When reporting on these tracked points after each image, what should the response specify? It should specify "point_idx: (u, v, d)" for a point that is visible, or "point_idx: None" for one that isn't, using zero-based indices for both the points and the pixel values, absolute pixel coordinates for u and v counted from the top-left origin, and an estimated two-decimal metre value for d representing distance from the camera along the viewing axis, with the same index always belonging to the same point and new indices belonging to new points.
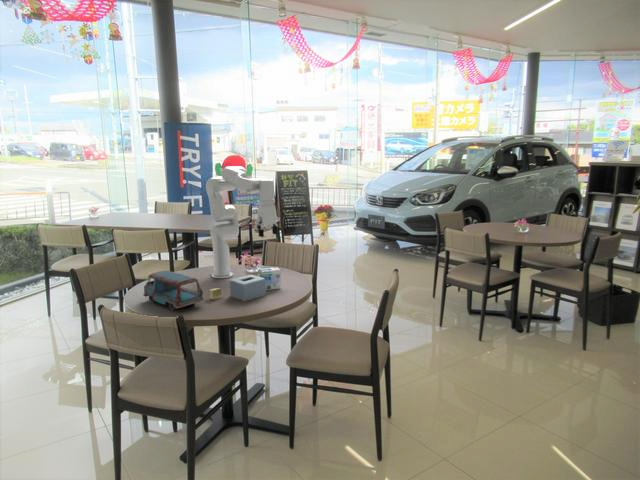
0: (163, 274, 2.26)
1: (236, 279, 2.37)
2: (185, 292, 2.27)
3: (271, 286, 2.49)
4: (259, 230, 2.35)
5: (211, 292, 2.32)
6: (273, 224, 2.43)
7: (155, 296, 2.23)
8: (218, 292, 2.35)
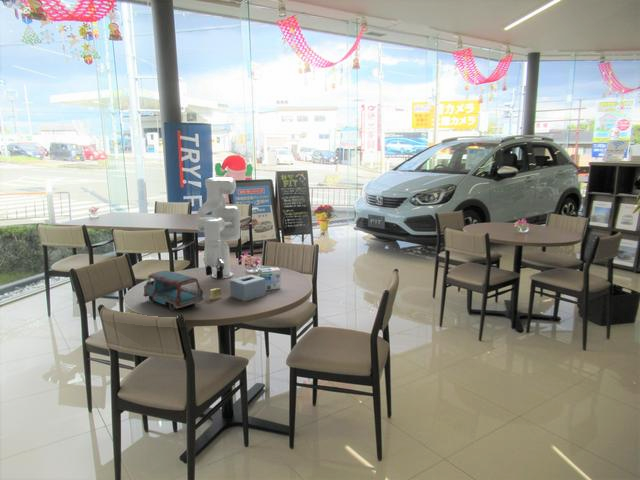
0: (163, 274, 2.26)
1: (236, 279, 2.37)
2: (185, 292, 2.27)
3: (271, 286, 2.49)
4: (220, 271, 2.28)
5: (211, 292, 2.32)
6: None
7: (155, 296, 2.23)
8: (218, 292, 2.35)
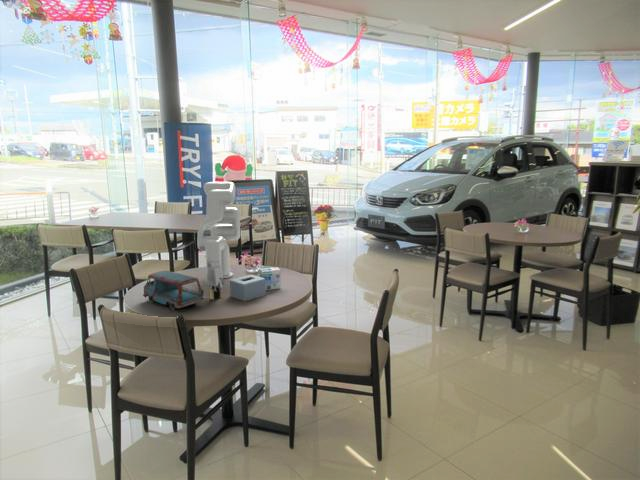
0: (163, 274, 2.26)
1: (236, 279, 2.37)
2: (185, 292, 2.27)
3: (271, 286, 2.49)
4: (217, 292, 2.33)
5: (211, 292, 2.32)
6: (211, 287, 2.35)
7: (155, 296, 2.23)
8: None
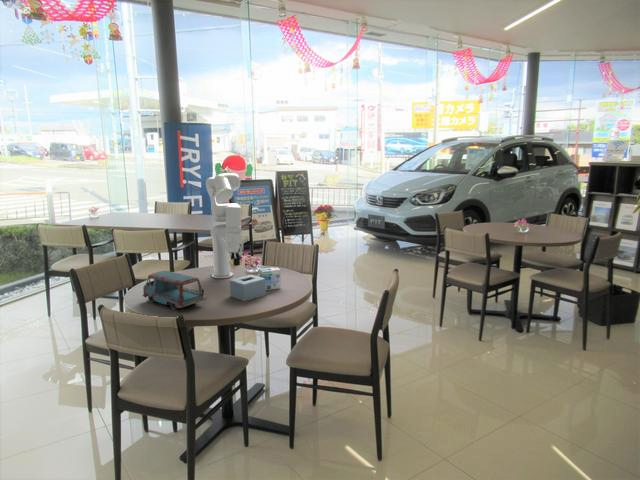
0: (163, 274, 2.25)
1: (236, 279, 2.37)
2: (186, 292, 2.27)
3: (271, 286, 2.49)
4: (237, 259, 2.32)
5: (231, 264, 2.32)
6: (231, 254, 2.34)
7: (155, 296, 2.23)
8: None
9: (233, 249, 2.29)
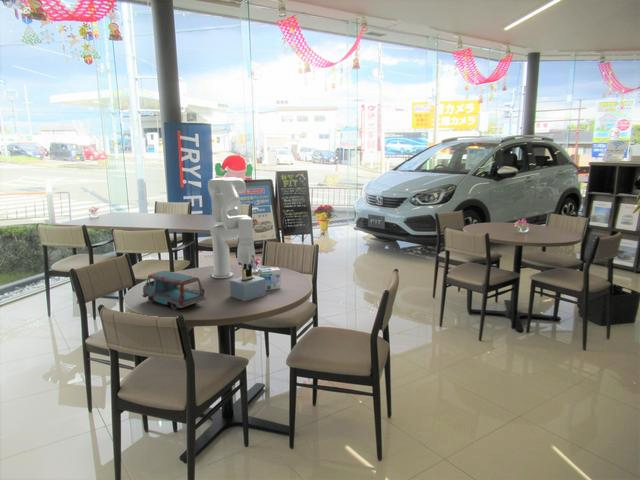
0: (163, 274, 2.25)
1: (236, 279, 2.37)
2: (186, 292, 2.28)
3: (271, 286, 2.49)
4: (249, 270, 2.35)
5: (243, 272, 2.34)
6: (243, 265, 2.36)
7: (156, 296, 2.23)
8: None
9: (246, 260, 2.31)
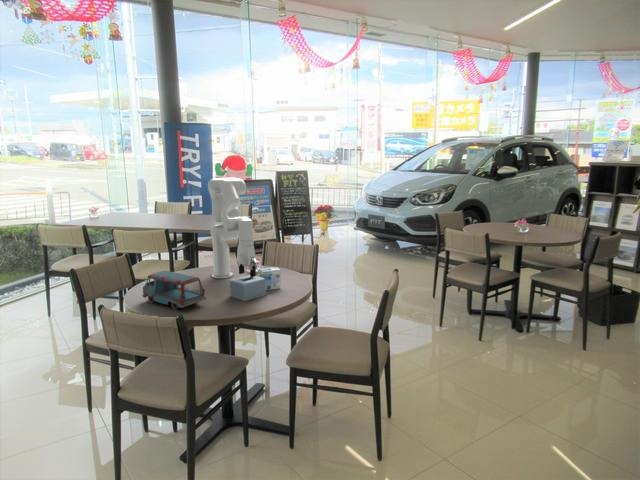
0: (163, 274, 2.25)
1: (236, 279, 2.37)
2: (186, 292, 2.28)
3: (271, 286, 2.49)
4: (253, 270, 2.32)
5: None
6: (240, 264, 2.38)
7: (156, 296, 2.23)
8: None
9: (246, 262, 2.31)
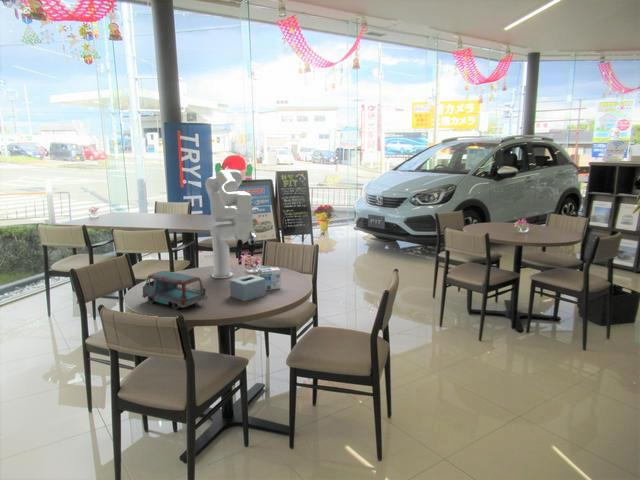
0: (163, 274, 2.25)
1: (236, 279, 2.37)
2: (186, 291, 2.28)
3: (271, 286, 2.49)
4: (252, 245, 2.30)
5: None
6: None
7: (156, 296, 2.23)
8: None
9: (244, 237, 2.30)
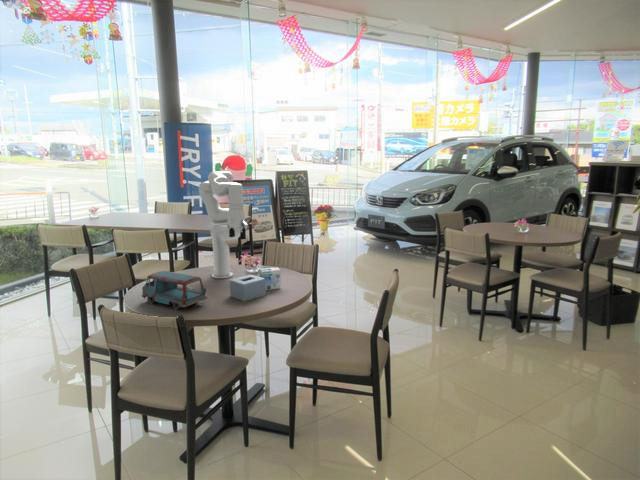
0: (163, 274, 2.25)
1: (236, 279, 2.37)
2: (186, 291, 2.28)
3: (271, 286, 2.49)
4: (243, 233, 2.42)
5: None
6: (230, 228, 2.48)
7: (156, 297, 2.23)
8: None
9: (236, 225, 2.41)
